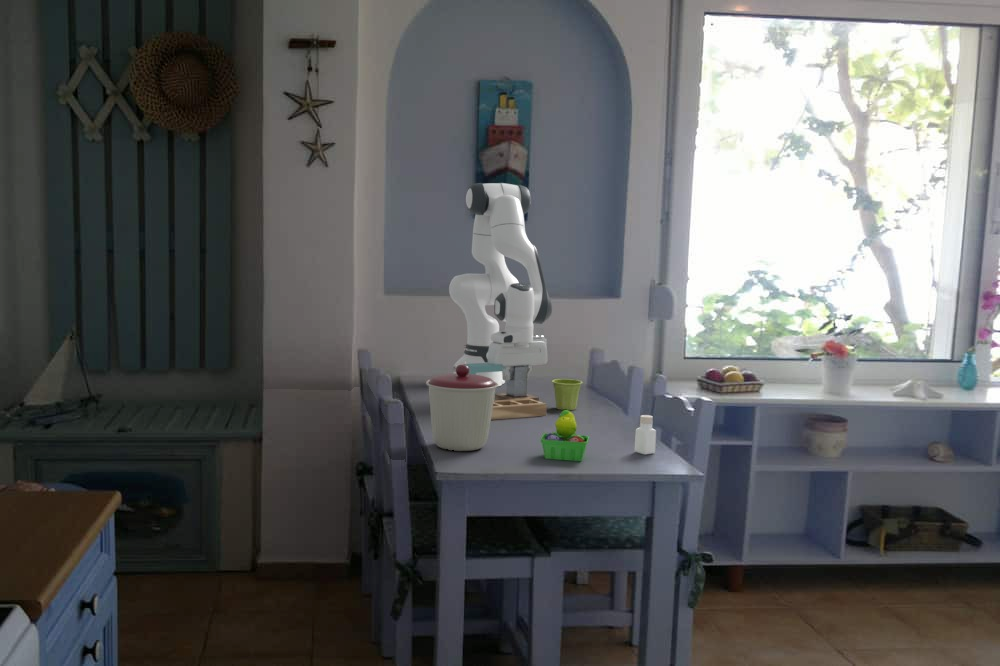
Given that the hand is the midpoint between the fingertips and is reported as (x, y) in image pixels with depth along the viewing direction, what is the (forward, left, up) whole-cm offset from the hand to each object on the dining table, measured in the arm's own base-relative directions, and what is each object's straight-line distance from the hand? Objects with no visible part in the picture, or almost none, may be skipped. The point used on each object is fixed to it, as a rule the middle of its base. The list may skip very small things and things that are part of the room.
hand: (517, 379), depth 307 cm
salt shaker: (+67, -3, -8) cm, 68 cm away
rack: (+12, -11, -8) cm, 18 cm away
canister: (+44, -44, -8) cm, 63 cm away
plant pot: (+10, +12, -8) cm, 18 cm away
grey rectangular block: (0, 0, -6) cm, 6 cm away
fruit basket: (+63, -25, -8) cm, 69 cm away
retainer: (0, -14, -7) cm, 15 cm away
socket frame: (0, -9, -8) cm, 12 cm away
